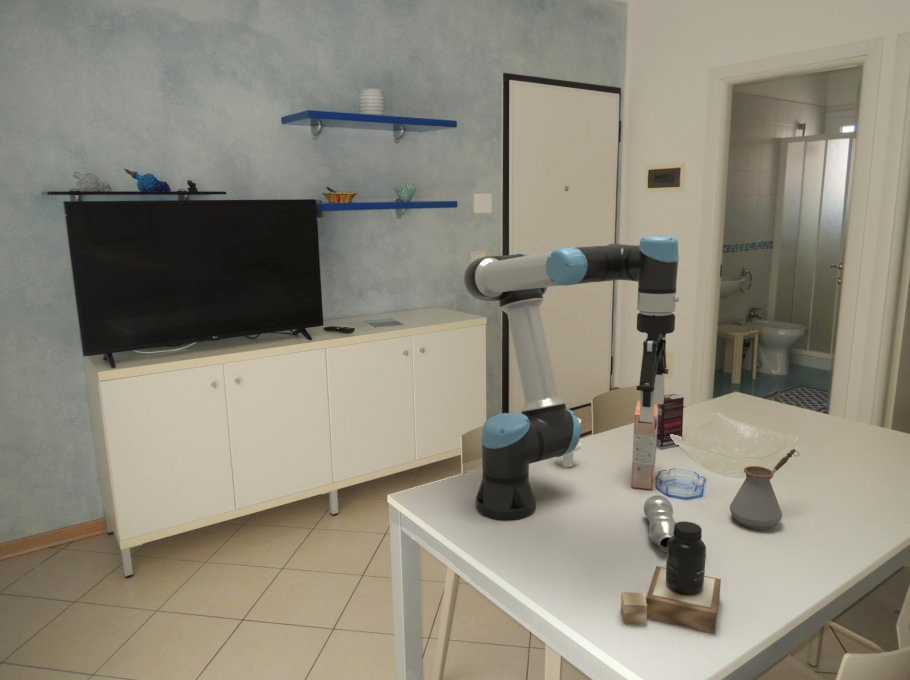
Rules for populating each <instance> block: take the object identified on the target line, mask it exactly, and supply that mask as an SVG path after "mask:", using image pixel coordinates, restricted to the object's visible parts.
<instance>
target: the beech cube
mask: <svg viewBox="0 0 910 680" xmlns="http://www.w3.org/2000/svg"><path fill="white" fill-rule="evenodd" d="M620 596H621V597H620V598H621V599H620V614H621V617H622V621H623V625H637V626H638V625H639V626H647V620H648V619H647V603H646V598H645V597H646V596H645V594H644V592H627V591H626V592H624V591H621V595H620Z"/></svg>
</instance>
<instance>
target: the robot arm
mask: <svg viewBox="0 0 910 680" xmlns="http://www.w3.org/2000/svg"><path fill="white" fill-rule="evenodd" d="M679 260H680V256H679V241H678V239H677V238H676V237H675V236H669V235H668V236H664V235H663V236H661V235H654V236H652V235H651V236H648V235H647V236H643V237H641V238H640V240H639V245H632V244H622V243H621V244H620V243H606V244H602V245H592V246H577V247H573V246H565V247H562V248H556V249H554V250H552V251H547V252H541V253H536V254H527V253H526V254H523V253H517V254H507V255H505V254H503V255H494V256H493V255H492V256H491V255H489V256H488V255H487V256H483V257H482V256H481V257H479V258H476V259H475V260H473V261H471V263H470V264H468V266H467V267H466V269H465V272H464V275H463V282H464V286H465V289H466V291H467V292H468V293H469V294H470V296H472V297H473V298H475V299H477V300H479V301H483V302H496V301H498V305H499V308H500V310H501V311H503V312H504V313H505V314H506V315H507V319H508V324H509V328H510V334H511V339H512V343H513V348H514V353H515V359H516V364H517V368H518V373H519V378H520V384H521V387H522V392H523V397H524V401H525V402H524V405H523V406H522V408H521V410H520V411H521V413H520V412H510V413H507V412H503V413H499V414H496V415H493V416H491V417H489V418H488V419H487V420H485V422H484V423H483V425H482V431H481V432H482V435H481V439H480V440H481V448H482V449H481V452H482V453H481V457H482V459H481V460H482V461H481V462H482V466H481V467H482V476H481V477H482V478H481V481H480V485H479V488H478V490H477V494H476V496H475V507H476V508H475V509H476V510H477V512H478V513H480V514H481V515H482V516H484V517H487V518H488V519H489V518H490V519H494V520H499V521H501V520H502V521H514V520H520V519H524V518H527V517H528V516H531V515H532V514H534V512H535V511H536V507H537V505H536V501H537V499H536V496H535V493H534V490H533V486H532V484H531V480H530V477H529V476H530V475H529V474H530V470H529V469H530V465H531V464H535V463H538V462H541V461H546V460H549V459H554V458H560V457H563V455H564V454H567V453H570V452H572V451H573V450H574V449H575V448H576V445H577V444H578V442H579V443H580V438H581V425H580V424H579V421H578V418H579V417H577V415H575V412H574V411H572V410H571V409H568V408H567V405H566V401H564V400H563V399H561V398H560V396H558V391H557V387H556V382H555V378H554V373H553V367H552V362H551V359H550V358H551V356H550V353H549V347H548V343H547V338H546V334H545V329H544V324H543V320H542V319H543V318H542V315H541V309H540V307H541V305H542V304H543V302H544V294H545V293H546V292H547V290H548V288H551V287H560V286H565V287H566V286H574V285H581V284H589V283H591V284H592V283H601V282H603V283H604V282H611V281H612V282H613V281H627V282H628V281H629V282H638V283H637V286H638V287H637V300H636V303H637V304H636V310H637V311H638V313H637V314H636V330H637V331H638V332H640V333H645V334H647V335H646V336H647V337H646V339H645V340H644V341H643V342H642V345H643V348H642V358H641V359H642V360H641V365H640V366H641V367H640V376H639V385H636V391H640V393H639V394H640V395H639V400H640V417H639V421H643V422H651V423H653V422H654V403H655V404H663V401H664V394H665V377H666V375H668V374H669V368H667V351H666V350H667V348H666V345H667V340H666V335H667V334H672V333H673V332H675V328H676V315H675V313H673V312H675V311H676V303H678V302H680V298H679V297H678V296H676V295H677V282H678V281H677V280H678V270H679V267H678V266H679Z"/></svg>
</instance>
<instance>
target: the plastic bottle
mask: <svg viewBox="0 0 910 680" xmlns="http://www.w3.org/2000/svg"><path fill="white" fill-rule="evenodd" d="M673 509H674V508H673V505H672V503H671V502H670V500H669V499H668V498H667V497H665V496H663V495H652V496H650V497H649V498H648V497H647V499H646V501H645V502H644V504H643V513H644V515H645V518H646V519H647V521H648V523H649V526H648V534H649V538H650V540H651V541H652V542H653V543H654V544H655V545H657V546H658V547H659V548H660V549H661V550H662V552H665V553H667V545H668V540H669V539H670V538H671V537H672V536H674V535H673V531H674V525H675V524H676V523H677V522H676V521H675V520H674V518H673V513H674V511H673Z"/></svg>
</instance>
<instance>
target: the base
mask: <svg viewBox="0 0 910 680" xmlns="http://www.w3.org/2000/svg"><path fill="white" fill-rule="evenodd" d="M651 578H652V579H651V581H650V584H649V588H648V590H647V591H648V592H647V594H646V596H645V597H646V598H645V600H646V603H647V618H648V619H651V620H654V621H655V620H656V621H660V622H663V623H667V624H673V625H676V626H681V627H685V628H688V629H689V628H690V629H694V630H697V631H702V632H706V633H710V634H716V627H717V621H718V614H719V613H718V612H719V606H720V605H719V604H720V595H721V582H722V579H721V578H717V577H711V576H707V575H704V587H703V590H702V591H701V592H700V593H698V594H695V595H683V594H679V593H677V592H674V591H673V590H671V589H670V588H669V587H668V586H667V584H666V567H663V566H659V565H656V566H655V569H654V572H653V575H652V577H651Z"/></svg>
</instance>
